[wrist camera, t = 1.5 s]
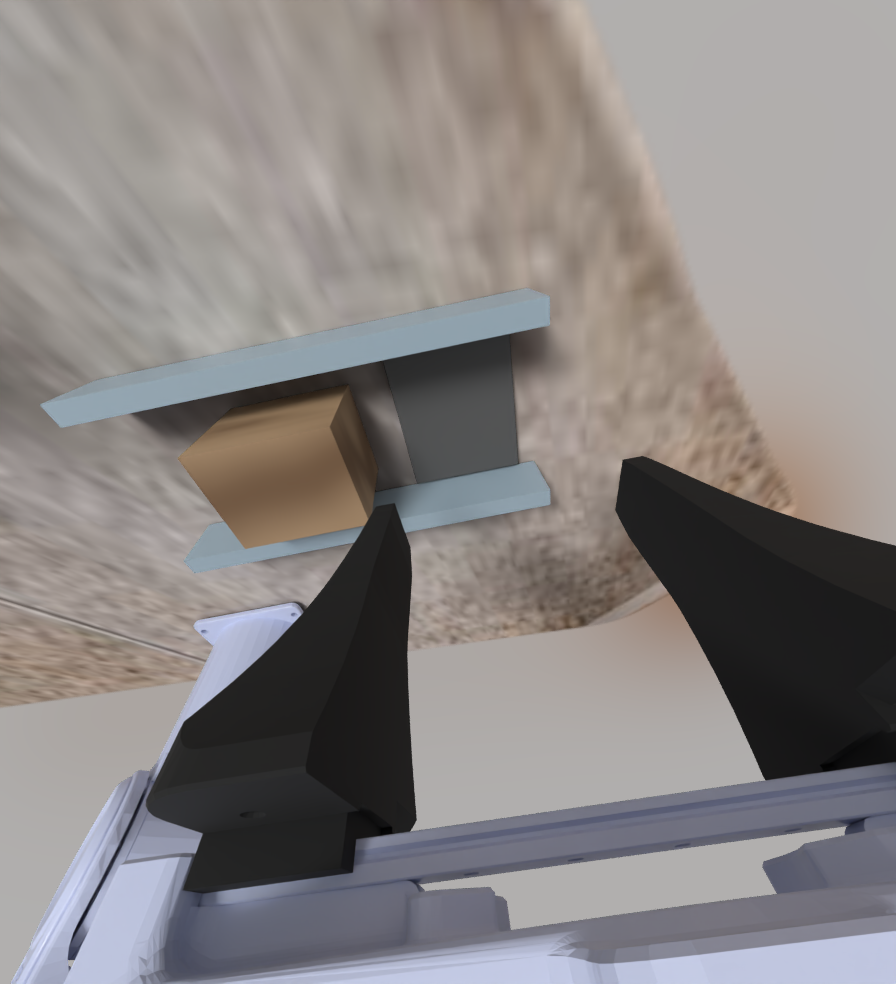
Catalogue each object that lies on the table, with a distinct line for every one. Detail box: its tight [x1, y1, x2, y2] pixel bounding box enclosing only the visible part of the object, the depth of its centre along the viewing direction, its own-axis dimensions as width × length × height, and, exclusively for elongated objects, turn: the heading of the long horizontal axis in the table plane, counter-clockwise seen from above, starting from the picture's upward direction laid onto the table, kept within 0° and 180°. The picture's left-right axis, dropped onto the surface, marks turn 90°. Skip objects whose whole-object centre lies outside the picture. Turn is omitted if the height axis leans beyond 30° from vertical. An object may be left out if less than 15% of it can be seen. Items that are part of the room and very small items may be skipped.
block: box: [178, 384, 378, 549], centre depth 17 cm, size 5×6×5 cm
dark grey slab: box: [383, 334, 518, 484], centre depth 18 cm, size 8×6×1 cm
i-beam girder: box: [40, 288, 550, 573], centre depth 17 cm, size 10×20×3 cm, turn 100°
